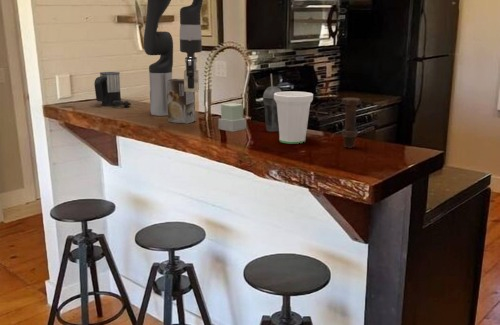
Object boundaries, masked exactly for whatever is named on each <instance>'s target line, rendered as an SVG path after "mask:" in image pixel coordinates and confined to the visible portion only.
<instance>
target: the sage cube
mask: <svg viewBox="0 0 500 325" xmlns="http://www.w3.org/2000/svg"><path fill="white" fill-rule="evenodd" d="M220 105H221V106H220V108H221V109H220V111H221V112H220V114H221V115H220V116H221V119H226V120H231V121H233V120H238V119H243V118H244V104H239V103H234V102H231V103H230V102H229V103H225V104H220Z"/></svg>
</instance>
